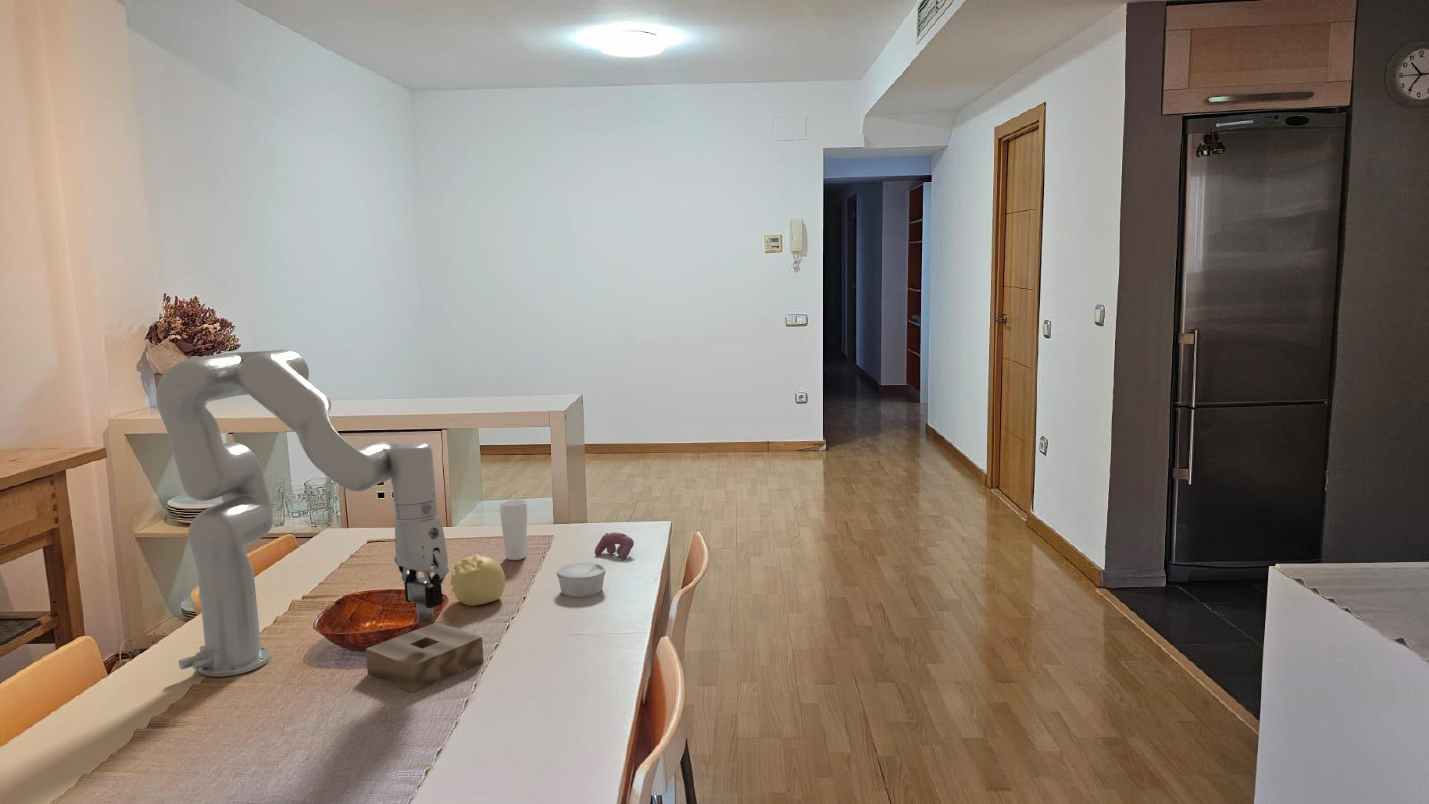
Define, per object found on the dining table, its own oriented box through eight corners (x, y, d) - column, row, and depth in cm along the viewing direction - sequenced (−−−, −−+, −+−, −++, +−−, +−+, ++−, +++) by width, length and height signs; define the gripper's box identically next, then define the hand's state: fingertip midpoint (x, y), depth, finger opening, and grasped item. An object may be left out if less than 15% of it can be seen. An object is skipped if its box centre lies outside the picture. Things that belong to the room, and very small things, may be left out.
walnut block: (413, 692, 170) (411, 666, 170) (367, 674, 179) (365, 648, 178) (483, 662, 183) (482, 637, 182) (438, 646, 191) (436, 622, 191)
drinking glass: (501, 555, 251) (498, 500, 249) (527, 553, 253) (524, 498, 251) (504, 563, 245) (501, 506, 243) (530, 560, 247) (527, 504, 245)
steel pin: (422, 627, 176) (419, 588, 174) (404, 621, 179) (400, 583, 178) (447, 617, 180) (444, 579, 179) (429, 612, 183) (425, 575, 182)
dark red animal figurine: (631, 562, 248) (638, 536, 250) (622, 559, 244) (628, 532, 246) (601, 557, 253) (608, 532, 255) (592, 554, 249) (598, 528, 251)
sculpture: (449, 597, 220) (447, 552, 219) (502, 589, 224) (499, 545, 223) (454, 613, 210) (451, 566, 208) (509, 605, 214) (507, 559, 212)
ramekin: (611, 595, 219) (610, 573, 218) (563, 602, 215) (562, 580, 214) (599, 580, 230) (598, 559, 229) (553, 587, 226) (552, 566, 225)
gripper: (461, 510, 174) (469, 605, 177) (405, 500, 185) (413, 589, 187) (427, 520, 168) (436, 617, 171) (371, 508, 179) (380, 601, 181)
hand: (424, 602), depth 179 cm, fingers closed on steel pin, 5 cm apart
